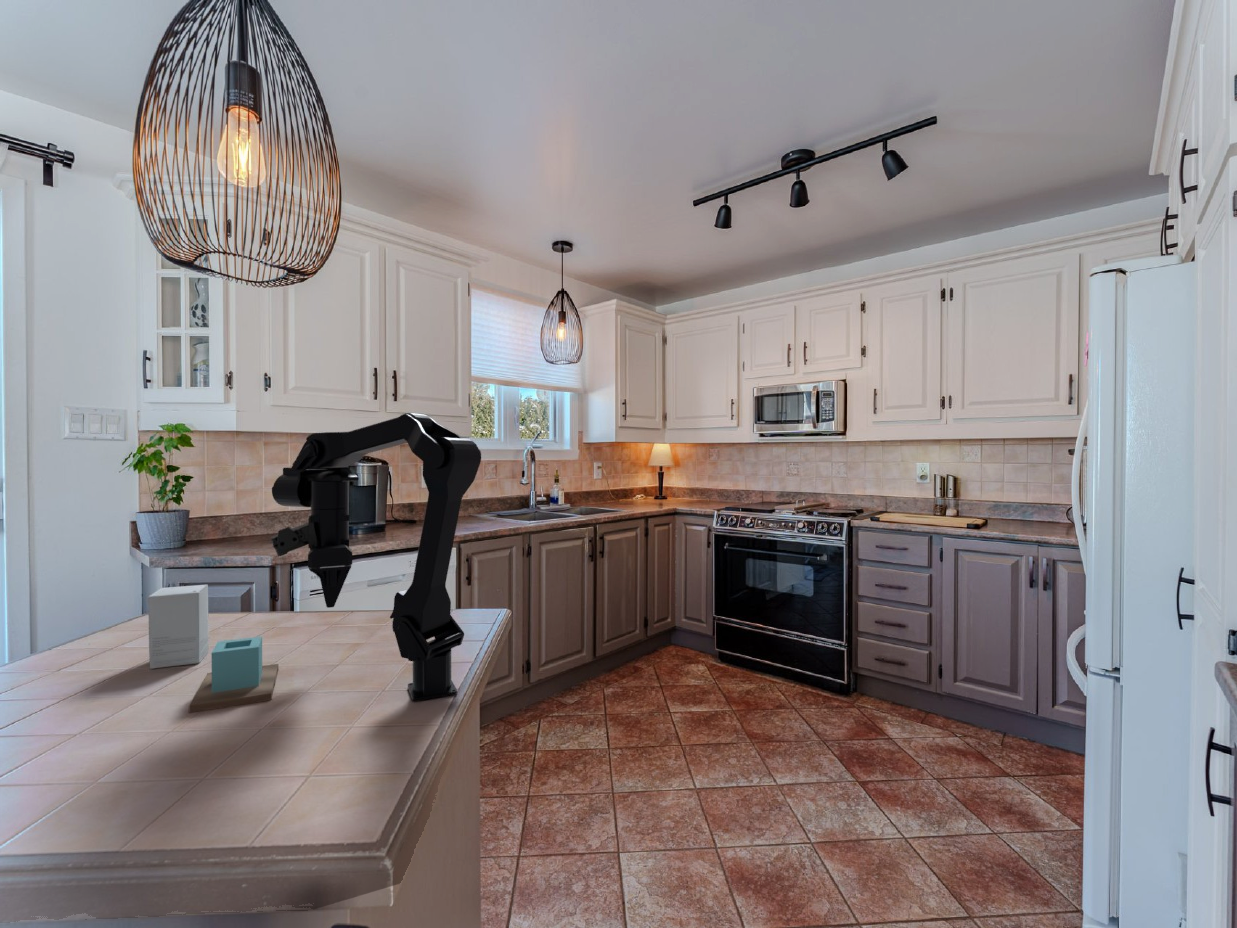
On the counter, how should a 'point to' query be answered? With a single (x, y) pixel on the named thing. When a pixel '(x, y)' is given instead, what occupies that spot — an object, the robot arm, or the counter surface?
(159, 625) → the supplement box
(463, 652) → the counter surface
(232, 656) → the square socket block
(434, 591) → the robot arm
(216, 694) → the pin plate
